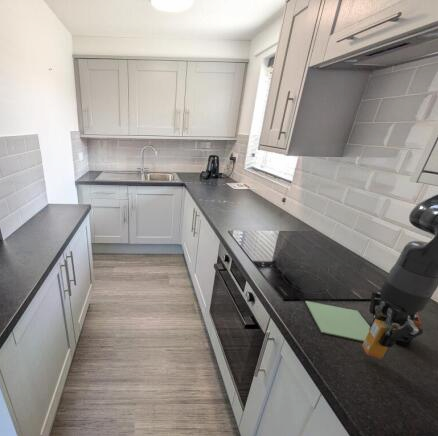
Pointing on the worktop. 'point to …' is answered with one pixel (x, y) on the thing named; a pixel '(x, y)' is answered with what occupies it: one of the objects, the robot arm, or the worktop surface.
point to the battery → (418, 325)
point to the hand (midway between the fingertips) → (379, 338)
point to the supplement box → (375, 339)
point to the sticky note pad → (339, 321)
